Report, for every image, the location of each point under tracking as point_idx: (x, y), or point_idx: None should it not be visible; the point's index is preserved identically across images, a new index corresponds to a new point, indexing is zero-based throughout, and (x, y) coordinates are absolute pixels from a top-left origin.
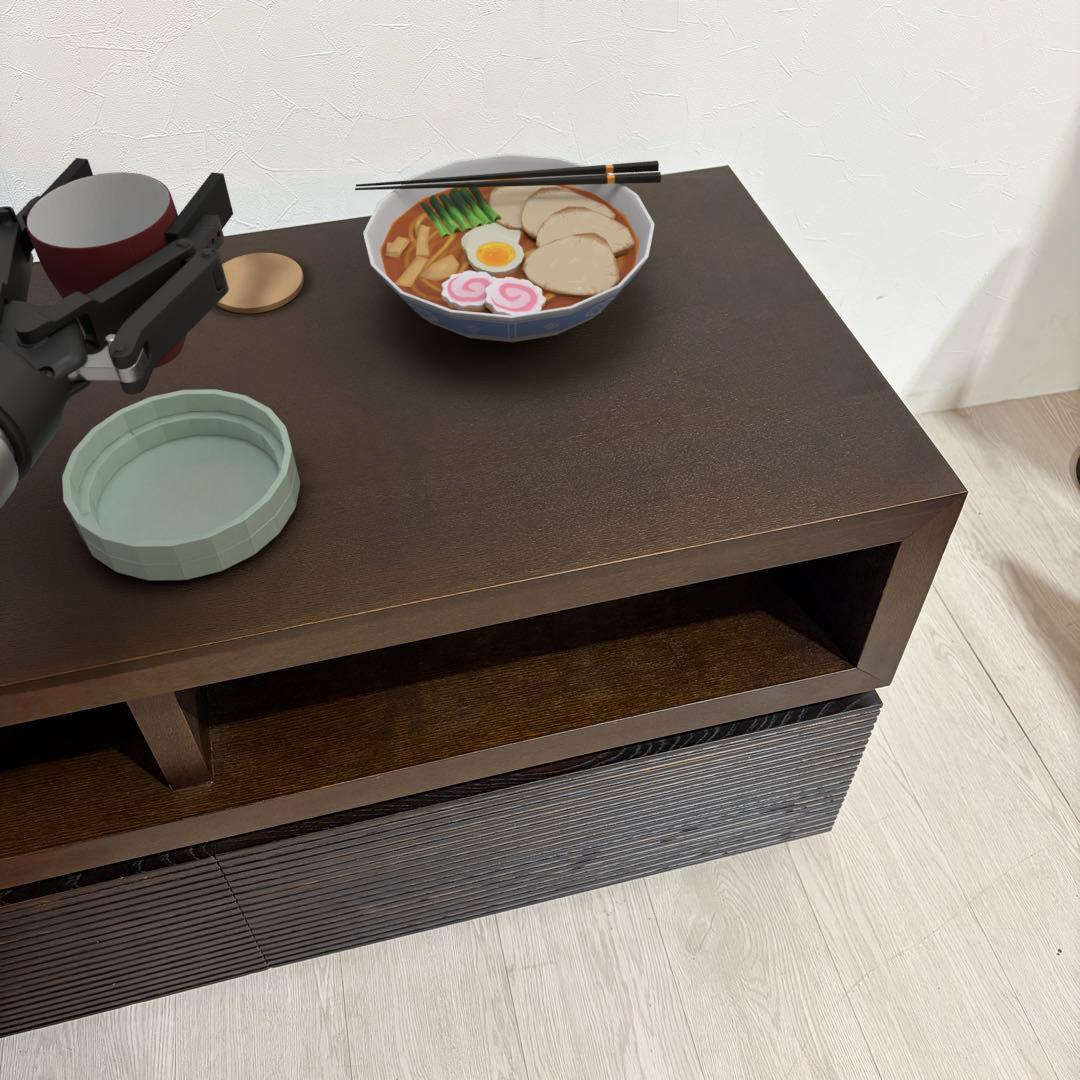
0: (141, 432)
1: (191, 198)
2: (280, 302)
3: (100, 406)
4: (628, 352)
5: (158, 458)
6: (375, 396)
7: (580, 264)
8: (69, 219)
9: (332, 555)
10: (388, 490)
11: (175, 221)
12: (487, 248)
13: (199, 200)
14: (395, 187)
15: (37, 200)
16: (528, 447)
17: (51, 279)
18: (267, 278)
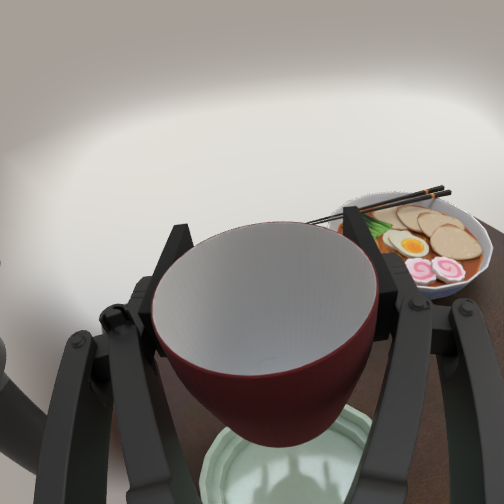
0: (237, 443)
1: (356, 237)
2: None
3: (184, 412)
4: (477, 283)
5: (253, 456)
6: (376, 358)
7: (457, 241)
8: (189, 299)
9: (428, 490)
10: (432, 425)
11: None
12: (405, 243)
13: (369, 238)
14: (330, 219)
15: (150, 284)
16: None
17: (207, 406)
18: None
